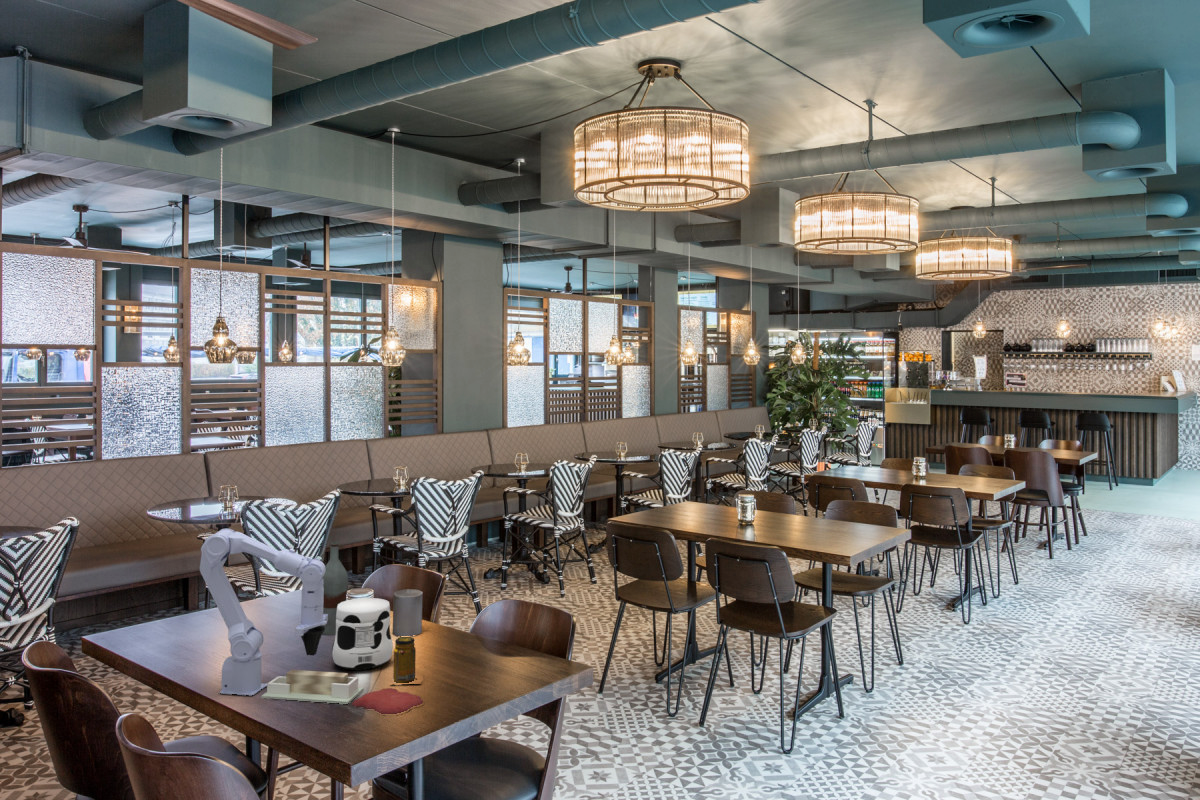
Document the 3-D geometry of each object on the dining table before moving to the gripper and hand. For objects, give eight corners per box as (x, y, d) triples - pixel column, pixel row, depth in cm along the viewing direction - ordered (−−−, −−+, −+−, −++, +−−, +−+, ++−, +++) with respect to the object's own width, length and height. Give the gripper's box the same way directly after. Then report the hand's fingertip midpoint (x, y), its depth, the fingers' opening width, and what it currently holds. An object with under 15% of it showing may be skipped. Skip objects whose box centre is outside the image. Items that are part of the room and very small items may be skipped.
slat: (285, 692, 213) (286, 673, 213) (291, 688, 216) (291, 669, 216) (342, 695, 211) (343, 677, 211) (347, 691, 214) (348, 673, 214)
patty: (345, 706, 208) (345, 698, 208) (384, 689, 220) (384, 682, 220) (394, 721, 199) (394, 713, 199) (432, 703, 211) (432, 695, 211)
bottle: (312, 633, 267) (314, 544, 267) (329, 626, 276) (330, 539, 276) (336, 636, 264) (338, 546, 264) (353, 629, 273) (354, 541, 273)
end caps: (267, 693, 213) (267, 679, 212) (278, 685, 218) (278, 672, 218) (348, 698, 210) (348, 685, 210) (358, 690, 216) (358, 677, 216)
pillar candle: (390, 630, 272) (390, 586, 272) (418, 627, 277) (419, 584, 276) (395, 639, 264) (396, 594, 263) (425, 635, 268) (425, 591, 267)
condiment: (394, 676, 229) (394, 635, 229) (424, 676, 229) (424, 634, 229) (389, 686, 221) (390, 643, 221) (420, 685, 222) (421, 642, 222)
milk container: (364, 651, 250) (365, 594, 250) (404, 661, 241) (405, 602, 241) (319, 667, 236) (320, 606, 235) (360, 678, 227) (361, 615, 226)
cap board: (260, 698, 210) (261, 695, 210) (280, 685, 220) (280, 682, 220) (347, 704, 208) (347, 701, 208) (363, 690, 218) (363, 687, 218)
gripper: (313, 613, 211) (311, 664, 211) (338, 599, 225) (337, 647, 226) (288, 611, 212) (287, 662, 212) (314, 597, 226) (313, 645, 227)
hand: (311, 654), depth 219 cm, fingers closed
